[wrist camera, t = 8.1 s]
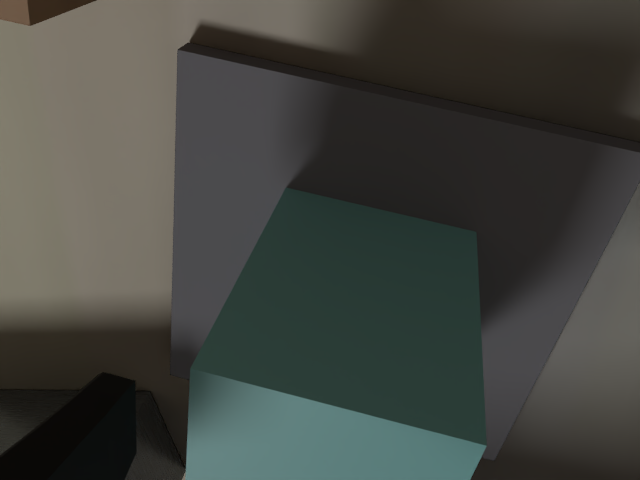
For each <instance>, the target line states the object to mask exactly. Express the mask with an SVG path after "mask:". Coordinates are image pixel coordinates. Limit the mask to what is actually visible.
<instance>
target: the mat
mask: <svg viewBox="0 0 640 480" xmlns="http://www.w3.org/2000/svg"><path fill="white" fill-rule="evenodd" d="M639 182H640V143H639V142H635V141H630V140H626V139H621V138H617V137H612V136H608V135H603V134H599V133H594V132H590V131H585V130H581V129H576V128H572V127H567V126H563V125H558V124H554V123H549V122H544V121H540V120H535V119H531V118H526V117H522V116H517V115H513V114H508V113H504V112H499V111H495V110H490V109H486V108H481V107H477V106H472V105H468V104H463V103H459V102H454V101H450V100H445V99H441V98H436V97H432V96H427V95H423V94H418V93H414V92H409V91H405V90H400V89H396V88H391V87H386V86H382V85H377V84H373V83H368V82H364V81H359V80H355V79H350V78H346V77H341V76H337V75H332V74H328V73H323V72H319V71H314V70H310V69H305V68H301V67H296V66H292V65H287V64H283V63H278V62H274V61H269V60H265V59H260V58H256V57H251V56H247V55H242V54H238V53H233V52H228V51H224V50H219V49H215V48H210V47H206V46H201V45H197V44H192V43H187V44H185V45H184V46H182V47H181V48H179V49H178V52H177V96H176V140H175V183H174V227H173V271H172V314H171V358H170V375H173V376H176V377H180V378H184V379H188V380H190V368H191V366H192V364H193V362H194V361H195V359H196V357H197V355H198V353H199V351H200V349H201V347H202V345H203V343H204V342H205V340H206V338H207V336H208V334H209V332H210V330H211V328H212V326H213V325H214V323H215V321H216V319H217V317H218V315H219V313H220V311H221V309H222V308H223V306H224V304H225V302H226V300H227V298H228V296H229V294H230V292H231V290H232V289H233V287H234V285H235V283H236V281H237V279H238V277H239V275H240V273H241V272H242V270H243V268H244V266H245V264H246V262H247V260H248V258H249V256H250V254H251V253H252V251H253V249H254V247H255V245H256V243H257V241H258V239H259V237H260V236H261V234H262V232H263V230H264V228H265V226H266V224H267V222H268V220H269V219H270V217H271V215H272V213H273V211H274V209H275V207H276V205H277V203H278V201H279V200H280V198H281V196H282V194H283V192H284V190H285V188H290V189H295V190H299V191H303V192H308V193H312V194H316V195H320V196H325V197H329V198H333V199H338V200H342V201H346V202H350V203H355V204H359V205H363V206H368V207H372V208H376V209H380V210H385V211H389V212H393V213H398V214H402V215H406V216H410V217H415V218H419V219H423V220H428V221H432V222H436V223H440V224H445V225H449V226H453V227H458V228H462V229H466V230H471V231H475V232H476V233H477V254H478V274H479V295H480V316H481V336H482V357H483V378H484V399H485V419H486V440H487V446H486V449H485V451H484V453H483V455H482V457H481V458H485V459H488V460H492V461H494V460H495V459H496V457H497V455H498V453H499V451H500V449H501V447H502V445H503V443H504V441H505V439H506V437H507V436H508V434H509V432H510V430H511V428H512V426H513V424H514V422H515V420H516V418H517V416H518V414H519V413H520V411H521V409H522V407H523V405H524V403H525V401H526V399H527V397H528V395H529V393H530V391H531V390H532V388H533V386H534V384H535V382H536V380H537V378H538V376H539V374H540V372H541V370H542V368H543V366H544V365H545V363H546V361H547V359H548V357H549V355H550V353H551V351H552V349H553V347H554V345H555V343H556V342H557V340H558V338H559V336H560V334H561V332H562V330H563V328H564V326H565V324H566V322H567V320H568V319H569V317H570V315H571V313H572V311H573V309H574V307H575V305H576V303H577V301H578V299H579V297H580V296H581V294H582V292H583V290H584V288H585V286H586V284H587V282H588V280H589V278H590V276H591V274H592V273H593V271H594V269H595V267H596V265H597V263H598V261H599V259H600V257H601V255H602V253H603V251H604V250H605V248H606V246H607V244H608V242H609V240H610V238H611V236H612V234H613V232H614V230H615V228H616V226H617V225H618V223H619V221H620V219H621V217H622V215H623V213H624V211H625V209H626V207H627V205H628V203H629V202H630V200H631V198H632V196H633V194H634V192H635V190H636V188H637V186H638V184H639Z"/></svg>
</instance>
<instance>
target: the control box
mask: <svg viewBox="0 0 640 480" xmlns="http://www.w3.org/2000/svg"><path fill="white" fill-rule="evenodd" d="M78 392H79V391H60V390H0V455H1V454H2V453H4V452H5V451H6V450H7V449H9V448H10V447H11V446H13V445H14V444H15V443H16V442H18V441H19V440H20V439H22V438H23V437H24V436H25V435H27V434H28V433H29V432H30V431H32V430H33V429H34V428H35V427H37V426H38V425H39V424H40V423H42V422H43V421H44V420H45V419H46V418H48V417H49V416H50V415H51V414H53V413H54V412H55V411H56V410H57V409H59V408H60V407H61V406H62V405H63V404H65V403H66V402H67V401H68V400H69V399H71V398H72V397H73V396H74V395H75V394H76V393H78ZM135 394H136V443H137V453H136V455H135V457H134V460H133V462H132V464H131V466H130V469H129V471H128V473H127V475H126V478H125V480H182V478H183V476H184V473H185V471H186V470H185V468H184V465H183V463H182V461H181V459H180V456H179V454H178V452H177V450H176V448H175V445H174V443H173V441H172V439H171V437H170V434H169V432H168V430H167V428H166V426H165V423H164V421H163V419H162V417H161V415H160V412H159V410H158V408H157V406H156V403H155V401H154V399H153V397H152V395H151V392H150V391H135Z"/></svg>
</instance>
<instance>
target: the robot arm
mask: <svg viewBox="0 0 640 480" xmlns="http://www.w3.org/2000/svg"><path fill="white" fill-rule="evenodd" d="M136 453H137V443H136V394H135V381H134V380H130V379H127V378H123V377H119V376H115V375H112V374H108V373H104V372H103V373H101V374H99V375H97V376H96V377H95V378H94V379H93V380H92V381H90V382H89V383H88V384H87V385H86V386H85V387H83V388H82V389H81V390H80V391H79V392H78V393H76V394H75V395H74V396H73V397H72V398H71V399H69V400H68V401H67V402H66V403H65V404H63V405H62V406H61V407H60V408H59V409H57V410H56V411H55V412H54V413H53V414H51V415H50V416H49V417H48V418H46V419H45V420H44V421H43V422H42V423H40V424H39V425H38V426H37V427H35V428H34V429H33V430H32V431H30V432H29V433H28V434H27V435H25V436H24V437H23V438H22V439H20V440H19V441H18V442H16V443H15V444H14V445H13V446H11V447H10V448H9V449H7V450H6V451H5V452H4V453H2V454H1V455H0V480H125V478H126V475H127V473H128V471H129V469H130V466H131V464H132V462H133V460H134V457H135V455H136Z"/></svg>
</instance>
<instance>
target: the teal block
mask: <svg viewBox="0 0 640 480" xmlns="http://www.w3.org/2000/svg"><path fill="white" fill-rule="evenodd" d="M486 446H487V440H486V419H485V399H484V378H483V357H482V336H481V316H480V295H479V274H478V254H477V233H476V232H475V231H471V230H466V229H462V228H458V227H453V226H449V225H445V224H440V223H436V222H432V221H428V220H423V219H419V218H415V217H410V216H406V215H402V214H398V213H393V212H389V211H385V210H380V209H376V208H372V207H368V206H363V205H359V204H355V203H350V202H346V201H342V200H338V199H333V198H329V197H325V196H320V195H316V194H312V193H308V192H303V191H299V190H295V189H290V188H285V190H284V192H283V194H282V196H281V198H280V200H279V201H278V203H277V205H276V207H275V209H274V211H273V213H272V215H271V217H270V219H269V220H268V222H267V224H266V226H265V228H264V230H263V232H262V234H261V236H260V237H259V239H258V241H257V243H256V245H255V247H254V249H253V251H252V253H251V254H250V256H249V258H248V260H247V262H246V264H245V266H244V268H243V270H242V272H241V273H240V275H239V277H238V279H237V281H236V283H235V285H234V287H233V289H232V290H231V292H230V294H229V296H228V298H227V300H226V302H225V304H224V306H223V308H222V309H221V311H220V313H219V315H218V317H217V319H216V321H215V323H214V325H213V326H212V328H211V330H210V332H209V334H208V336H207V338H206V340H205V342H204V343H203V345H202V347H201V349H200V351H199V353H198V355H197V357H196V359H195V361H194V362H193V364H192V366H191V368H190V387H189V410H188V433H187V457H186V480H470V479H471V477H472V475H473V473H474V471H475V469H476V467H477V465H478V463H479V461H480V459H481V457H482V455H483V453H484V451H485V449H486Z"/></svg>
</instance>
